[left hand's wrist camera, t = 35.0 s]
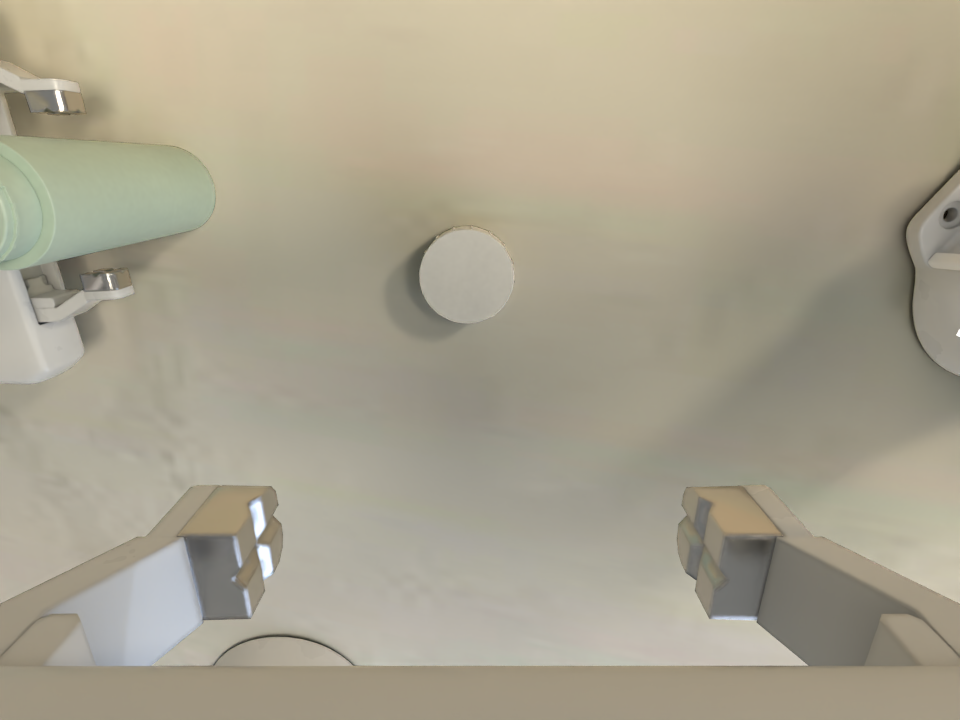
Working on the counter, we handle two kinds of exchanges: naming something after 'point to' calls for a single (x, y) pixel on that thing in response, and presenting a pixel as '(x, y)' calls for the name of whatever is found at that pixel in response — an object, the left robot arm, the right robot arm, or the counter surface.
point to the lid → (466, 275)
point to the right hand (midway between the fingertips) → (101, 195)
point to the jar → (94, 197)
